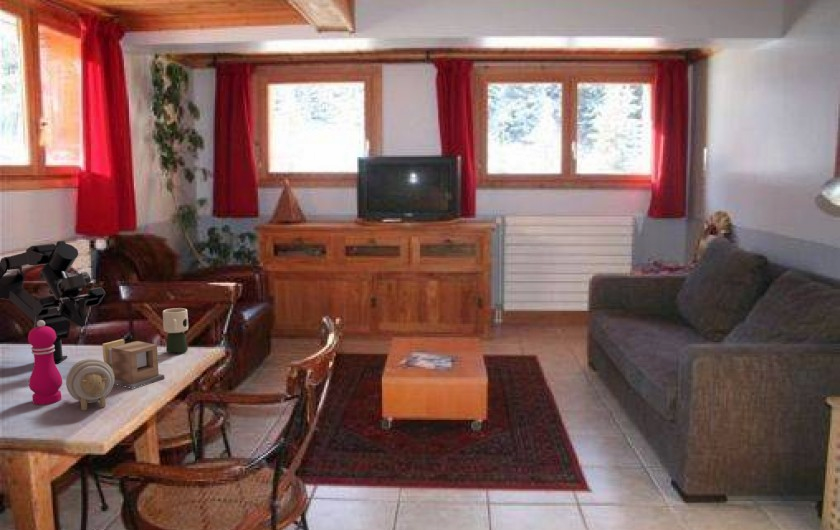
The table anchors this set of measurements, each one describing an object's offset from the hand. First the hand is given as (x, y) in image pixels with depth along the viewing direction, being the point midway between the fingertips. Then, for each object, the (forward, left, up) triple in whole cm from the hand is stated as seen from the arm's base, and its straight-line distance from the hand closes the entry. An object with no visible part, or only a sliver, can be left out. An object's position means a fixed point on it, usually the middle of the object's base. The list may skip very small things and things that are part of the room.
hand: (83, 325), depth 201 cm
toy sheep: (+29, +12, -13) cm, 34 cm away
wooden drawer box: (+9, +14, -13) cm, 21 cm away
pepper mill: (+26, 0, -13) cm, 29 cm away
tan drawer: (+9, +14, -10) cm, 20 cm away
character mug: (-17, +20, -13) cm, 30 cm away
